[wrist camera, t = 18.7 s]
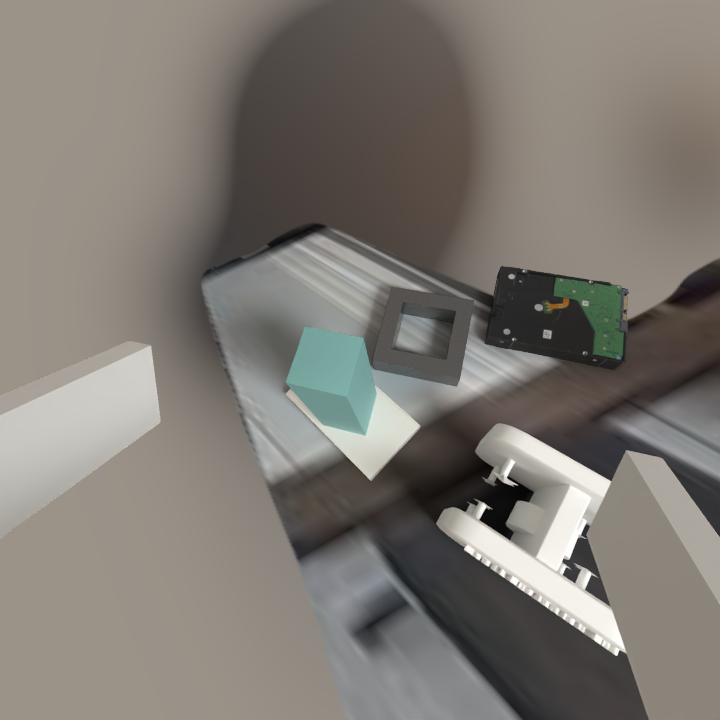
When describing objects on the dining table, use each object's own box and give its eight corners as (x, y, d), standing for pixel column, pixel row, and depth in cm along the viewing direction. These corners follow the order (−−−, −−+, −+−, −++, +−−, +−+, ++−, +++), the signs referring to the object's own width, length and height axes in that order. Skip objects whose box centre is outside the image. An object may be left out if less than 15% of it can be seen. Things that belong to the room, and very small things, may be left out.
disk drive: (483, 348, 48) (615, 372, 45) (487, 338, 45) (628, 363, 42) (495, 277, 51) (618, 295, 48) (499, 264, 49) (630, 282, 46)
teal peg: (376, 393, 45) (363, 338, 31) (365, 435, 43) (346, 396, 29) (335, 384, 46) (305, 326, 32) (323, 425, 44) (285, 382, 30)
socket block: (470, 312, 49) (474, 300, 46) (456, 386, 46) (460, 377, 43) (392, 299, 51) (391, 286, 48) (374, 369, 48) (372, 360, 45)
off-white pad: (419, 428, 44) (420, 425, 43) (370, 481, 43) (369, 479, 41) (335, 352, 49) (333, 347, 48) (288, 397, 47) (285, 393, 46)
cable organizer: (616, 524, 39) (696, 526, 28) (571, 627, 36) (642, 673, 25) (478, 441, 43) (502, 416, 32) (429, 527, 40) (438, 531, 30)
